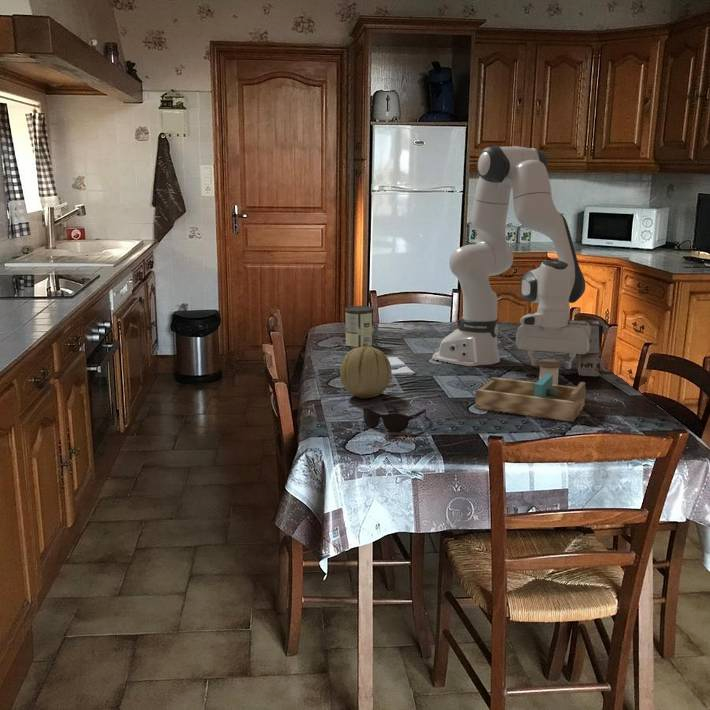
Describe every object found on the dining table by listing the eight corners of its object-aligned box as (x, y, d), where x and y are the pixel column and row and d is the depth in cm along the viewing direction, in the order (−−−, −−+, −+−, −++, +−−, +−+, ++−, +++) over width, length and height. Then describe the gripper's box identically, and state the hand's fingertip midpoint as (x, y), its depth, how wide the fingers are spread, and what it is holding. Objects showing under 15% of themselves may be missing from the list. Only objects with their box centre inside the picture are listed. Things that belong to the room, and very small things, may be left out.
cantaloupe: (352, 407, 213) (352, 353, 209) (332, 393, 226) (331, 342, 222) (401, 400, 218) (401, 348, 215) (378, 387, 231) (378, 337, 228)
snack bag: (399, 361, 264) (399, 355, 264) (416, 377, 245) (416, 370, 244) (343, 364, 260) (343, 358, 260) (356, 380, 241) (356, 373, 240)
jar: (535, 393, 224) (537, 362, 222) (540, 389, 229) (542, 358, 227) (555, 396, 222) (557, 364, 220) (559, 391, 227) (561, 360, 225)
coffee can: (355, 342, 291) (355, 304, 287) (379, 345, 285) (379, 307, 282) (339, 347, 282) (339, 309, 279) (364, 351, 277) (364, 311, 274)
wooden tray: (475, 408, 212) (476, 383, 210) (491, 394, 224) (492, 370, 223) (573, 421, 200) (574, 395, 198) (584, 406, 213) (586, 381, 211)
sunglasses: (357, 426, 198) (357, 407, 197) (388, 410, 211) (388, 392, 210) (404, 436, 191) (404, 416, 190) (433, 419, 204) (434, 400, 203)
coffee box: (600, 376, 242) (603, 325, 239) (578, 375, 244) (581, 324, 240) (597, 369, 251) (600, 320, 247) (576, 368, 252) (579, 319, 248)
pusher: (533, 409, 206) (534, 384, 204) (544, 398, 216) (545, 373, 214) (552, 412, 204) (554, 386, 202) (562, 400, 214) (564, 375, 212)
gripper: (593, 319, 219) (590, 367, 222) (520, 314, 228) (519, 361, 231) (589, 323, 213) (586, 372, 216) (514, 318, 222) (513, 365, 225)
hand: (551, 366), depth 224 cm, fingers open, 8 cm apart
